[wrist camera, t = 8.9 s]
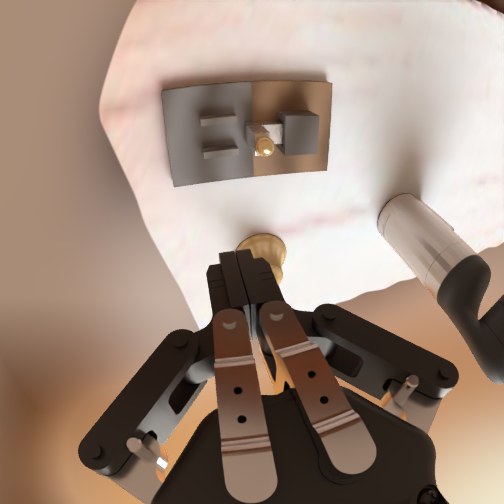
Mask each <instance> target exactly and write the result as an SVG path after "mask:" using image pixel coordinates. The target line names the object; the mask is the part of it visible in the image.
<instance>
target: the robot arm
mask: <svg viewBox="0 0 504 504" xmlns="http://www.w3.org/2000/svg"><path fill="white" fill-rule="evenodd" d="M378 230H379V233H380V234H381V235H382V236H383V238H384V239H385V240H386V241H387V242H388V243H389V244H390V245H391V247H392V248H393V249H394V250H395V251H396V252H397V254H398V255H399V256H400V257H401V258H402V259H403V261H404V262H405V263H406V264H407V265H408V267H409V268H410V269H411V270H412V271H413V273H414V274H415V275H416V276H417V277H418V279H419V280H420V281H421V282H422V284H423V285H424V286H425V287H426V288H427V290H428V291H429V292H430V293H431V295H432V296H433V297H434V299H435V300H436V301H437V302H438V304H439V305H440V306H441V308H442V309H443V310H444V311H445V313H446V314H447V315H448V316H449V318H450V319H451V320H452V322H453V323H454V325H455V326H456V327H457V329H458V330H459V332H460V334H461V335H462V337H463V338H464V340H465V341H466V343H467V345H468V346H469V348H470V350H471V352H472V354H473V355H474V357H475V359H476V361H477V362H478V364H479V365H480V367H481V369H482V370H483V372H484V373H485V374H486V375H487V377H488V378H489V379H490V380H491V381H492V382H494V383H496V384H502V383H504V295H503V296H502V297H501V298H500V299H499V300H498V302H496V303H495V304H494V306H493V307H491V309H490V310H489V311H488V312H487V313H486V314H485V315H484V316H483V317H482V318H481V319H480V320H478V310H479V307H480V303H481V301H482V298H483V296H484V294H485V292H486V290H487V287H488V285H489V282H490V277H491V271H490V268H489V266H488V265H487V263H486V262H485V261H484V260H483V259H482V258H481V257H480V256H479V255H478V254H477V253H476V252H475V251H474V250H473V249H472V248H471V247H470V246H469V245H468V244H467V243H466V242H464V241H463V240H462V239H461V238H460V237H459V236H458V235H457V234H456V233H455V232H454V229H453V227H452V226H450V225H449V224H448V223H447V222H446V221H445V220H444V219H443V218H441V217H440V216H439V215H438V214H437V213H436V212H435V211H433V210H432V209H431V208H430V207H429V206H427V205H426V204H425V203H424V202H423V201H421V200H418V199H416V198H415V197H414V196H412V195H410V194H401V195H398V196H396V197H394V198H393V199H392V200H390V201H389V202H388V203H387V204H386V205H385V207H384V208H383V210H382V212H381V214H380V216H379V219H378ZM219 261H220V264H215V265H210V266H209V268H208V270H207V273H206V275H207V281H208V288H209V294H210V300H211V307H212V313H213V316H212V320H211V322H210V323H209V324H208V325H207V326H206V327H205V328H203V329H201V330H199V331H197V332H195V333H193V332H192V331H189V330H186V329H179V330H176V331H173V332H171V333H170V334H168V336H166V338H165V339H164V340H163V341H162V343H161V344H160V345H159V346H158V347H157V349H156V350H155V351H154V352H153V353H152V355H151V356H150V357H149V358H148V360H147V361H146V362H145V363H144V364H143V366H142V367H141V368H140V369H139V371H138V372H137V373H136V374H135V375H134V377H133V378H132V379H131V380H130V381H129V383H128V384H127V385H126V386H125V388H124V389H123V390H122V391H121V393H120V394H119V395H118V396H117V397H116V399H115V400H114V401H113V402H112V404H111V405H110V406H109V407H108V409H107V410H106V411H105V412H104V413H103V415H102V416H101V417H100V419H99V420H98V421H97V422H96V423H95V425H94V426H93V427H92V428H91V430H90V431H89V432H88V433H87V435H86V436H85V437H84V438H83V440H82V441H81V443H80V445H79V448H78V454H79V458H80V460H81V462H82V463H83V464H84V465H85V466H86V467H88V468H90V469H92V470H93V471H95V472H96V473H98V474H99V475H102V476H104V477H106V478H108V479H110V480H112V481H114V482H115V483H116V484H118V485H119V486H120V487H122V488H123V489H125V490H126V491H127V492H129V493H130V494H132V495H133V496H135V497H136V498H137V499H139V500H140V501H142V502H143V503H145V504H449V503H448V502H447V501H446V499H445V498H444V497H443V496H442V494H441V493H440V492H439V490H438V488H437V485H436V480H435V459H436V452H435V447H434V444H433V442H432V440H431V438H430V437H429V436H428V434H427V433H428V431H429V429H430V426H431V424H432V422H433V420H434V417H435V415H436V412H437V410H438V407H439V404H440V402H441V400H442V398H443V397H445V395H446V394H447V393H448V392H449V391H450V390H451V389H452V388H453V387H454V386H455V385H456V384H457V382H458V378H459V374H458V370H457V368H456V367H455V366H454V364H453V363H451V362H450V361H448V360H446V359H444V358H442V357H439V356H438V355H435V354H433V353H431V352H429V351H427V350H425V349H423V348H421V347H419V346H417V345H415V344H413V343H411V342H409V341H407V340H405V339H403V338H401V337H399V336H397V335H395V334H393V333H391V332H389V331H387V330H385V329H383V328H381V327H379V326H377V325H374V324H373V323H371V322H369V321H367V320H364V319H363V318H361V317H358V316H357V315H355V314H352V313H351V312H349V311H347V310H344V309H343V308H341V307H339V306H336V305H334V304H322V305H320V306H318V307H317V308H316V309H315V310H314V312H307V311H298V310H295V309H293V308H291V306H290V305H289V304H287V303H286V302H285V300H284V298H283V296H282V293H281V291H280V288H279V286H278V283H277V281H276V279H275V276H274V273H273V271H272V269H271V266H270V264H269V263H268V262H267V261H266V260H265V259H264V258H263V257H260V258H253V255H252V252H251V250H250V248H249V249H243V250H236V251H235V253H234V251H230V252H223V253H219ZM251 336H252V339H257V338H258V340H259V344H260V353H261V356H262V359H263V361H264V364H265V366H266V369H267V372H268V374H269V377H270V379H271V382H272V384H273V387H274V391H275V395H261V392H260V387H259V381H258V375H257V370H256V364H255V359H254V358H253V353H252V348H251V342H250V340H251ZM334 375H335V376H336V377H338V378H340V379H342V380H344V381H345V382H347V383H349V384H351V385H353V386H355V387H356V388H358V389H360V390H362V391H364V392H366V393H368V394H369V395H371V396H373V397H375V398H377V399H379V400H381V404H382V407H383V408H381V407H379V406H377V405H376V404H374V403H372V402H370V401H369V400H367V399H365V398H364V397H362V396H360V395H358V394H357V393H355V392H353V391H352V390H350V389H348V388H345V387H342V386H340V385H339V383H338V381H337V379H336V378H335V376H334ZM213 376H215V381H216V393H217V403H218V404H217V405H218V408H217V409H215V410H213V411H212V412H211V413H209V414H208V415H207V416H206V417H205V418H204V419H203V420H202V422H201V423H200V424H199V426H198V427H197V429H196V431H195V432H194V434H193V435H192V437H191V439H190V440H189V442H188V444H187V446H186V447H185V448H184V450H183V452H182V453H181V455H180V456H179V458H178V460H177V461H176V463H175V464H174V466H173V468H172V469H171V471H170V472H169V474H168V476H167V477H166V478H164V470H165V467H166V465H167V463H168V454H167V452H166V450H165V448H164V447H163V445H164V444H165V442H166V441H167V439H168V438H169V437H170V435H171V434H172V432H173V431H174V429H175V428H176V427H177V425H178V424H179V422H180V421H181V419H182V418H183V416H184V415H185V414H186V412H187V411H188V409H189V408H190V406H191V405H192V403H193V402H194V401H195V399H196V398H197V396H198V395H199V393H200V392H201V390H202V389H203V387H204V385H205V384H206V383H207V380H208V379H209V378H211V377H213Z"/></svg>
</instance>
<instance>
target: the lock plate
mask: <svg viewBox="0 0 504 504" xmlns="http://www.w3.org/2000/svg"><path fill="white" fill-rule="evenodd" d="M161 94H162V103H163V112H164V120H165V128H166V136H167V144H168V151H169V158H170V165H171V172H172V178H173V185H174V187H179V186H186V185H193V184H200V183H207V182H214V181H222V180H230V179H239V178H248V177H257V176H267V175H277V174H288V173H301V172H314V171H327V164H328V151H329V138H330V122H331V104H332V83H330V82H324V81H245V82H229V83H216V84H206V85H197V86H188V87H180V88H173V89H167V90H162V91H161ZM278 120H282V121H283V122H284V129H283V144H274V145H275V148H274V151H273V153H272V154H271V155H269V156H255V155H254V154H253V152H252V151H251V149H250V148H249V146H248V145H247V144H246V142H245V122H260V121H278Z"/></svg>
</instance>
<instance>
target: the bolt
mask: <svg viewBox="0 0 504 504" xmlns="http://www.w3.org/2000/svg"><path fill="white" fill-rule="evenodd" d="M283 129H284V122H283V121H282V120H278V121H260V122H245V142H246V144H247V145H248V146H249V148H250V149H251V151H252V152H253V154H254V155H255V156H269V155H271V154H272V153H273V151H274V148H275V145H274V144H283Z"/></svg>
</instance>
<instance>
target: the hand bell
mask: <svg viewBox="0 0 504 504" xmlns="http://www.w3.org/2000/svg"><path fill="white" fill-rule="evenodd" d="M249 248H250V250H251V252H252V255H253V258H260V257H263V258H264V259H265V260H266V261H267V262H268V263H269V264H270V266H271V269H272V271H273V273H274V276H275V279H276V281H277V283H278V284H279V283H280V282H281V280H282V278H283V272H282V268H281V266H282V264H283V263H284V260H285V257H286V247H285V245H284V243H283V242H282V241H281V240H280V239H279V238H278V237H276V236H273V235H269V234H258V235H255V236H252V237H250V238H248V239H246V240H244V241H243V242H242V243H241V244H240V245H239V246H238V247H237V249H236V250H243V249H249Z"/></svg>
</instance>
